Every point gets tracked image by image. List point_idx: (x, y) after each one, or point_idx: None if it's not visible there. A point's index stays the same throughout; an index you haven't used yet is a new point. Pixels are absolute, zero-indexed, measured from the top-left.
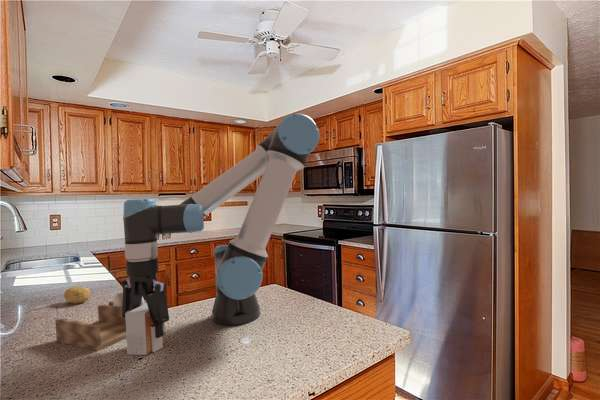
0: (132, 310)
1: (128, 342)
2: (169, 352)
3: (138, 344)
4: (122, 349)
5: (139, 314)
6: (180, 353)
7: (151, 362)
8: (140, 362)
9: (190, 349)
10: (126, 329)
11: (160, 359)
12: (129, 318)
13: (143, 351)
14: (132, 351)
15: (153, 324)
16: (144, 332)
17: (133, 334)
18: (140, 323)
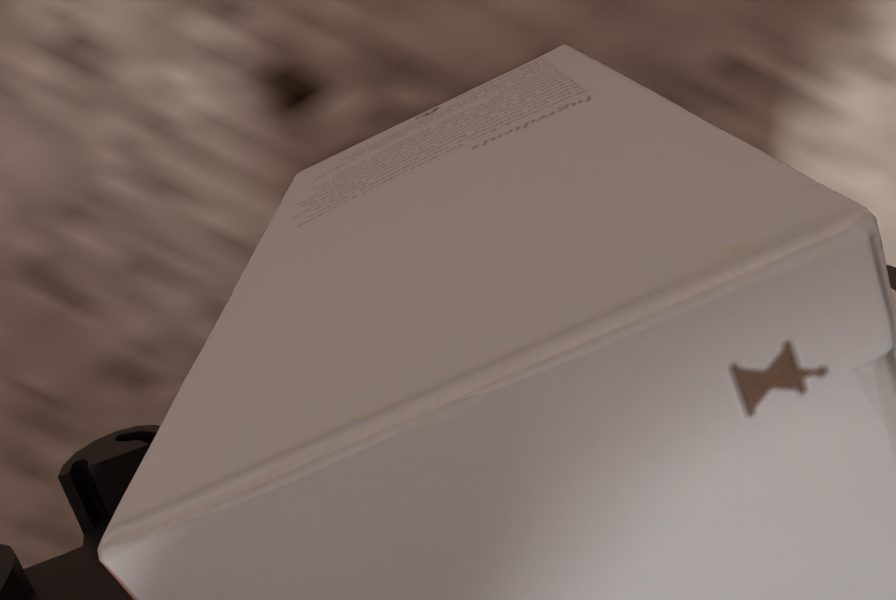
0: (853, 485)
1: (564, 76)
2: (144, 368)
3: (385, 153)
4: (791, 87)
5: (277, 444)
6: (10, 419)
7: (54, 113)
8: (175, 30)
9: (19, 523)
10: (652, 102)
11: (45, 218)
12: (625, 220)
13: (324, 165)
14: (487, 85)
15: (90, 473)
16: (244, 276)
17: (468, 151)
18: (292, 318)
